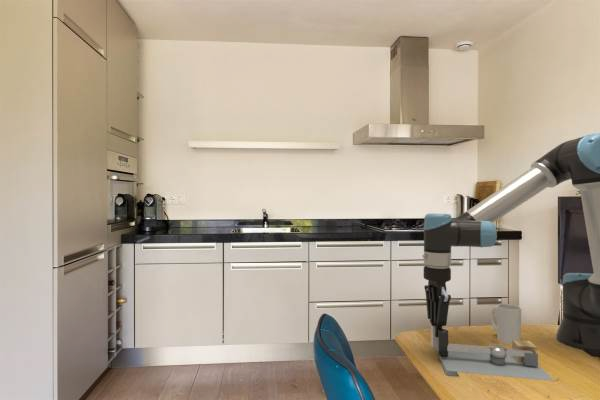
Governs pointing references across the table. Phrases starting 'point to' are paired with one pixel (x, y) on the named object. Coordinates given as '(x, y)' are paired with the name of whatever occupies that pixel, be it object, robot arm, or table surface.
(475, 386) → the table surface
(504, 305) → the mug
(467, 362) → the base
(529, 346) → the block
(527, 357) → the lever
